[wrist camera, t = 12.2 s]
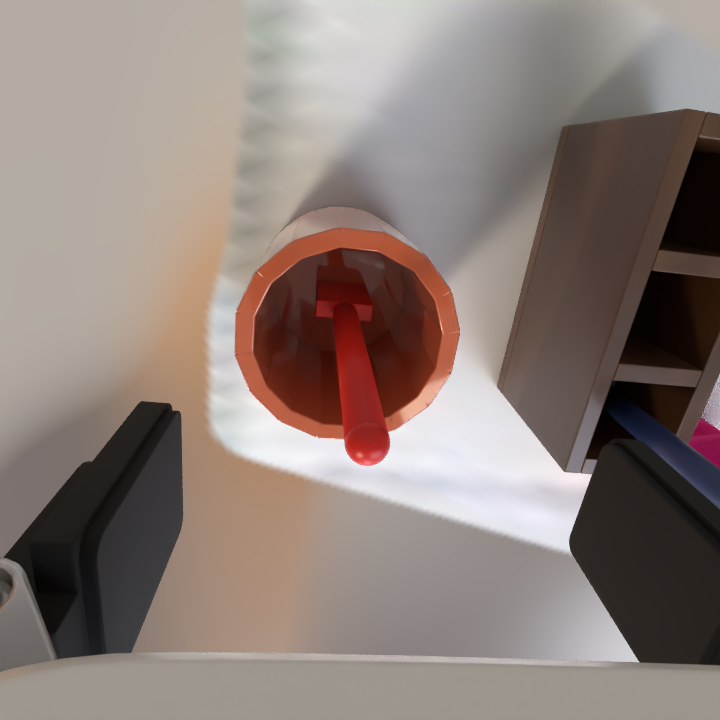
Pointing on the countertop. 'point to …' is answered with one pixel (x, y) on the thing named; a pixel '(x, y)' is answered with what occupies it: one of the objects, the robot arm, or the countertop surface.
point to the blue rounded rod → (665, 444)
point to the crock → (316, 334)
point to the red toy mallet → (354, 370)
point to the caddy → (621, 284)
